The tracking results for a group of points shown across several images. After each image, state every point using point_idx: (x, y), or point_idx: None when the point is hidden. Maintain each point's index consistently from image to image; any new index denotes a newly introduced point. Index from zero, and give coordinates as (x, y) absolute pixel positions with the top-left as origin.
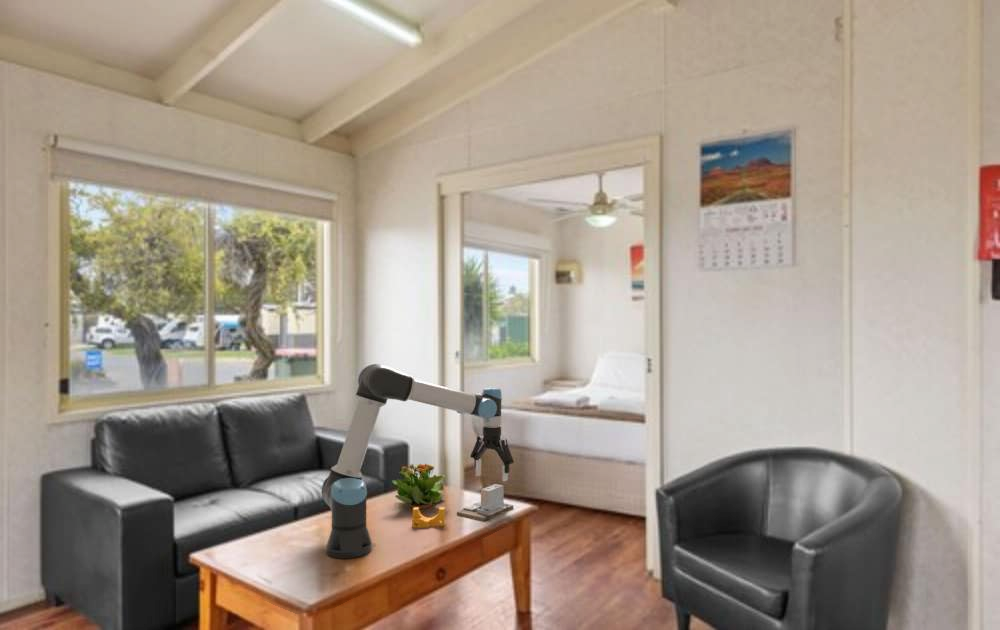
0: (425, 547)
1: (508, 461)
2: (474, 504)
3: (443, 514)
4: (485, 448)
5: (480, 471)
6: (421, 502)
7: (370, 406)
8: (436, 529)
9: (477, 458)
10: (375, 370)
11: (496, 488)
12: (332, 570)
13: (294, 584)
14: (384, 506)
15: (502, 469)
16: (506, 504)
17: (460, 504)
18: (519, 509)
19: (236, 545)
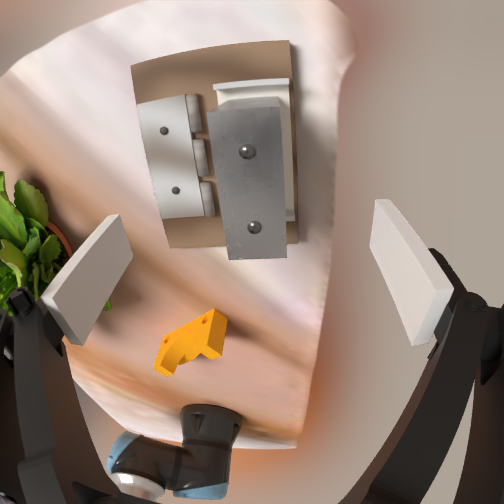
0: (293, 386)
1: (486, 367)
2: (154, 160)
3: (222, 343)
4: (88, 471)
5: (108, 236)
6: (54, 262)
7: None
8: (234, 338)
9: (54, 337)
10: None
11: (284, 186)
12: (251, 433)
13: (252, 445)
14: None
15: (399, 311)
16: (285, 83)
17: (91, 159)
18: (321, 40)
19: (121, 421)
